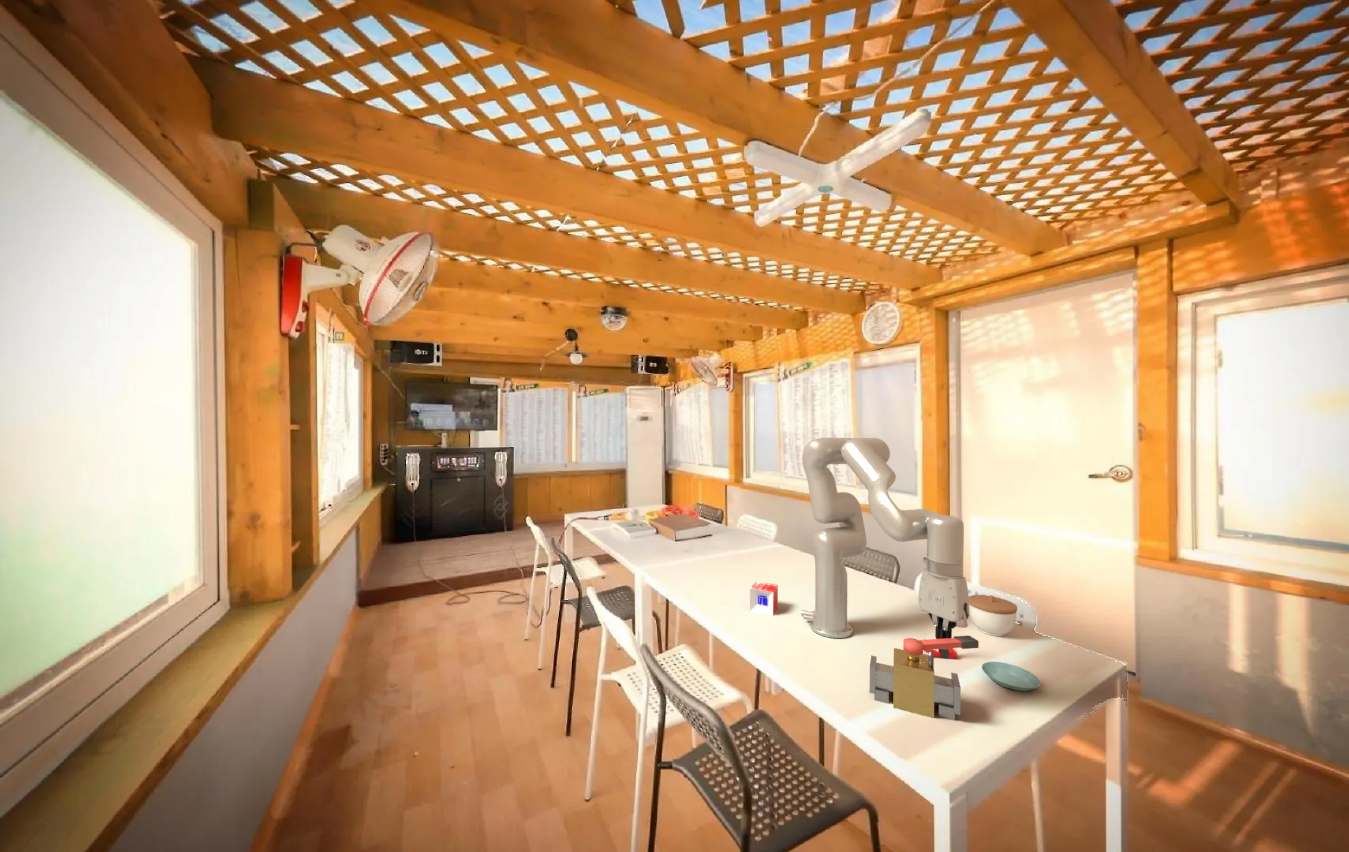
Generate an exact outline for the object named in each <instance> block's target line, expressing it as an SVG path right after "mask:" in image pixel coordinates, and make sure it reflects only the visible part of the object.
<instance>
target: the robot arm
mask: <svg viewBox="0 0 1349 852" xmlns="http://www.w3.org/2000/svg"><path fill="white" fill-rule="evenodd" d="M890 457H891V451H890V447H889V445H888V444H887V443H886V442H885V441H884V440H882V439H880V438H877V437H819V438H814V439H812V440H811V441H809V442H807V443H806V445H805V446H804V448H803V450H802V456H801V461H802V466H803V467H802V468H803V471H804V473H805V475H806V479H807V485H808V492H809V497H810V499H809V500H810V506H811V510H812V515H813V519H814V520H815V521H816V522H818V523H820V524H824V525H825V524H828V525H829V524H835V523H836V524H837V523H838V525H839V526H837V527H836V526H835V527H828V528H822V529H820V530H818V531H816V532H815V534H814V535H813V536H812V540H811V547H812V552H813V556H814V567H815V570H814V571H815V574H814V575H815V577H814V579H815V582H814V583H815V587H814V588H815V589H814V591H815V593H814V594H815V596H814V597H815V598H814V601H815V602H814V609H815V610H814V611H813V610H811V611H808V610H804V609H801V613H800V616H801V617H803V620H806V621H808V620H809V621H810V622H809V627H810V629H811V630H812V631H813V632H814V633H816V634H818V635H820V636H823V637H827V638H832V639H843V638H844V639H845V638H848V637H850V636H852V635H853V627H852V626H851V625H850V623H848V572H847V569H846V567H845V565H844V562H843V560H842V559H846V558H852V557H858V556H860V555H862V554H863V553H864V552H865V550H867V549H866V548H867V535H866V534H867V533H866V529H865V522H864V517H863V512H862V508H861V504H860V502H859V499H858V498H856V497H855V495H854V494H852V493H850V492H846V491H842V492H839V491H838V489H837V483H836V482H837V481H836V478H835V476H834V474H833V473H832V471H831V470H830V469H829V468H828V466H829V465H847V466H848V467H849V468H850V469H851V471H852V472H853V473H854V475H855V476H856V477H857V478H858V479H859V481H860V482H861V484H863V486H864V487H865V488H866V490H867V502H868V506H869V510H870V512H871V516H872V517H873V518H874V520H875V522H877V524H878V525H879V526H880V528H881V529H882V530H883V531H884V533H886V535H888V537H890V538H891V539H893V540H894V541H896V542H902V543H903V542H913V541H919V540H926V541H927V542H926V557H925V556H924V557H923V558H922V562H923V563H925V565H926V568H923V570H922V573H921V577H920V582H919V588H918V589H919V590H918V600H917V601H918V607H919V608H920V609H921V611H922V612H923V613H924V614H926V615H928V616H929V618H930V619H931V621H932V624H933V626H934V627H935V629H934V630H935V632H934V634H935V639H945V638H953V637H952V636H953V635H952V633H953V630H954V629H955V628H956V627H957V628H962V629H964V628H968V626H969V623H968V619H969V617H970V615H969V595H970V594H969V588H968V583H967V578H966V577H965V576H964V541H965V539H964V537H965V536H964V535H965V527H964V526H965V524H964V521H963V520H962V519H961V518H959V517H958V516H957V517H956V516H953V515H949V514H948V515H947V514H940V513H937V512H934V511H932V510H930V509H925V508H917V509H906V510H905V509H904V510H901V509H900V508H899V507H898V506H897V505H896V503H895V502H894V501H893V500H892V498H891V497H890V495H889V493H888V489H890V488H891V487H892V486H893V485H894V483H895V482H896V480H897V479H896V478H897V476H896V473H895V471H894V470H893V469H892V468H891V467H890V466H889V465H888V462H889V459H890Z"/></svg>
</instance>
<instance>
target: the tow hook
mask: <svg viewBox="0 0 1349 852" xmlns="http://www.w3.org/2000/svg"><path fill="white" fill-rule="evenodd" d="M929 651H933V652H934V658H940V659H954V660H957V659H958V658H959V657H958V653H957V652H955V648H947V649H931V650H924V652H926V653H928V654H929Z"/></svg>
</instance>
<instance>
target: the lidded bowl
mask: <svg viewBox="0 0 1349 852" xmlns="http://www.w3.org/2000/svg"><path fill="white" fill-rule="evenodd" d="M1017 613H1018V606H1017V605H1016V604H1015V603H1013V602H1011V601H1009V600H1007V599H1003V598H1001V597H997V596H994V595H991V594H990V595H986V594H972V595H970V596H969V617H970V620H971V621H972V623H973V625H974V626H975V627H976V628H977V630H978V631H980V632H981V633H983V634H985V635H988V636H993V637H1005V636H1006V635H1007V634H1009V633H1010V632H1012V630H1014V627H1015V625H1016V620H1017Z"/></svg>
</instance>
